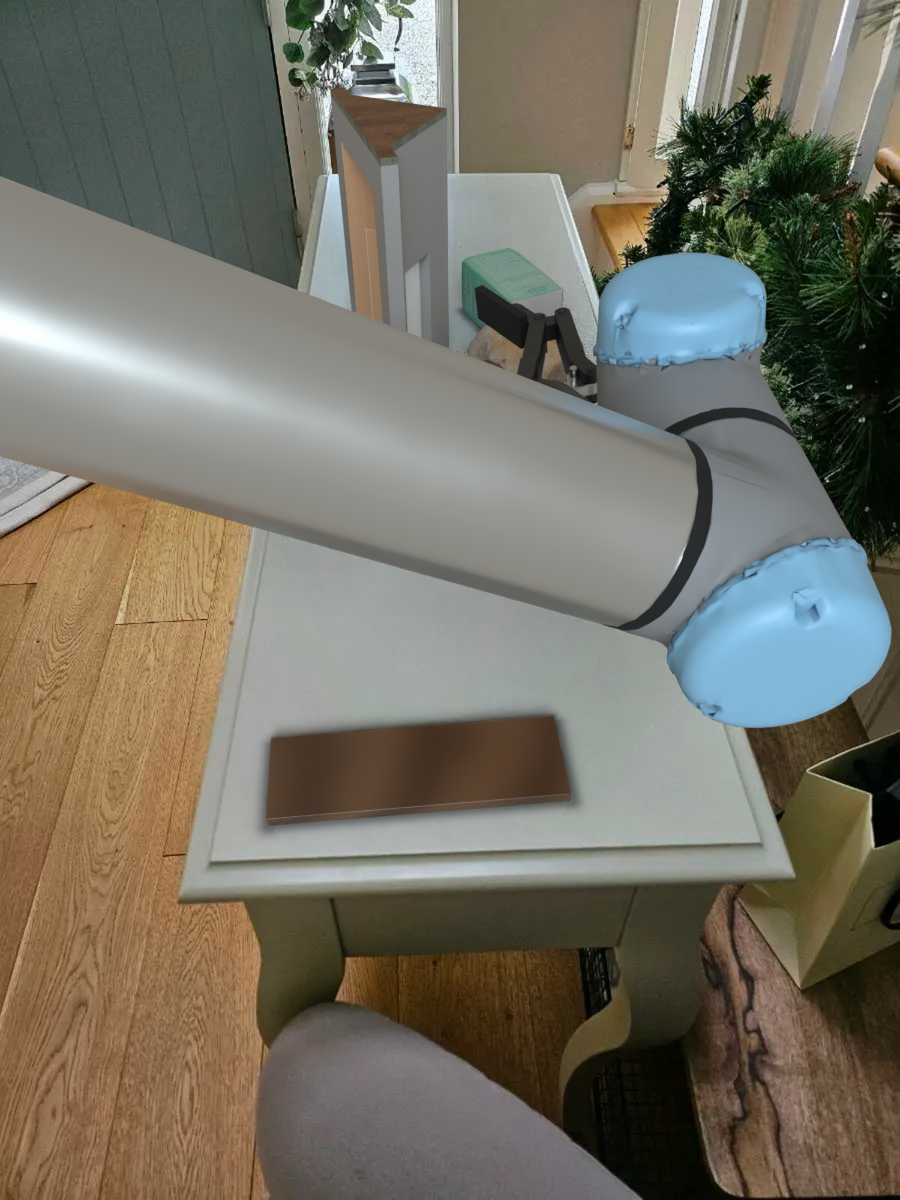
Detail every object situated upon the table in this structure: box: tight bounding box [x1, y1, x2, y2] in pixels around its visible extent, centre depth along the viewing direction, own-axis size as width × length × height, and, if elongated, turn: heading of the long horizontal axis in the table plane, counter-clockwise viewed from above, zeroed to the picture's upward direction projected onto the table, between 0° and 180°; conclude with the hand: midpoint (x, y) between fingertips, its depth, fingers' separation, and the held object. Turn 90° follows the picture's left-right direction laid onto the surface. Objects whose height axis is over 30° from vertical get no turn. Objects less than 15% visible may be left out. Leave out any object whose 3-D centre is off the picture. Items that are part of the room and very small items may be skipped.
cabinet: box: [329, 86, 450, 348], centre depth 94 cm, size 21×10×28 cm, turn 18°
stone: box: [466, 325, 586, 382], centre depth 100 cm, size 14×11×8 cm
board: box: [265, 715, 572, 827], centre depth 64 cm, size 22×7×1 cm, turn 95°
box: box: [461, 247, 564, 330], centre depth 108 cm, size 7×14×8 cm, turn 27°
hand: (408, 331), depth 69 cm, fingers open, 13 cm apart
